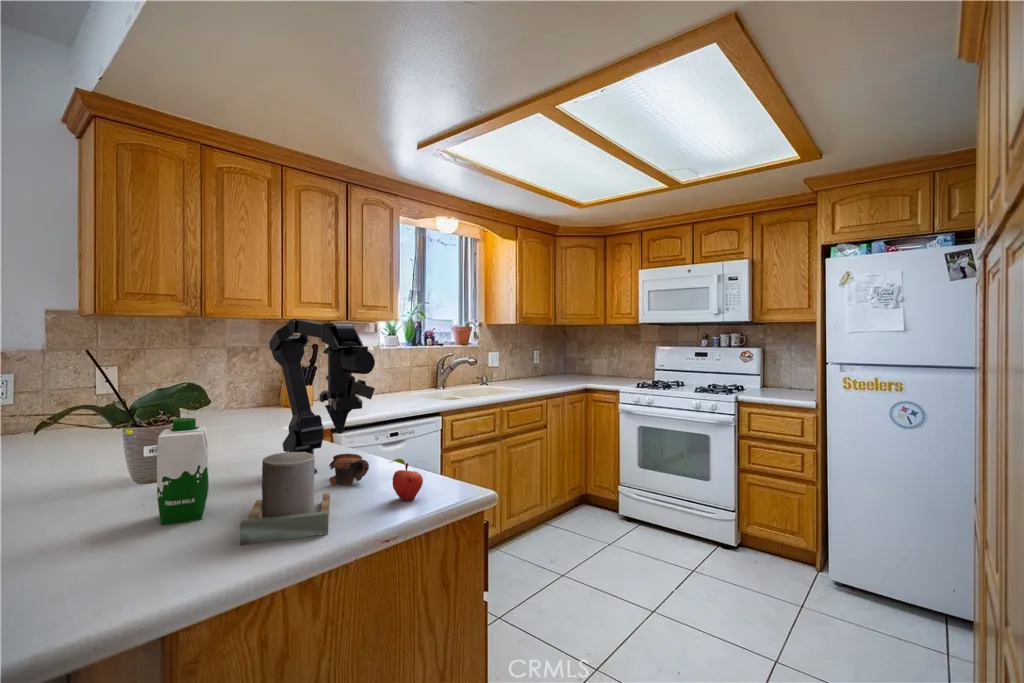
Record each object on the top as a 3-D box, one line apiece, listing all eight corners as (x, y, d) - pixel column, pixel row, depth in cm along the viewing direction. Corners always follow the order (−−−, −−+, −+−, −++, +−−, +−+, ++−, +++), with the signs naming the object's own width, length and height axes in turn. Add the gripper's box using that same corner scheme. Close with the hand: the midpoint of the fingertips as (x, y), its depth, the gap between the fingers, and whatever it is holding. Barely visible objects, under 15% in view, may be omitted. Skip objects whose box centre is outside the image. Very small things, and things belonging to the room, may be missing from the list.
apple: (408, 492, 118) (408, 451, 118) (428, 498, 114) (428, 456, 114) (383, 501, 112) (383, 458, 112) (403, 507, 108) (404, 463, 108)
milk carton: (210, 506, 108) (209, 416, 107) (206, 520, 100) (205, 423, 99) (161, 512, 104) (161, 419, 103) (153, 528, 96) (153, 427, 95)
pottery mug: (318, 487, 123) (322, 455, 127) (343, 494, 131) (346, 463, 135) (357, 480, 119) (360, 447, 123) (380, 487, 127) (382, 456, 131)
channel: (256, 509, 106) (256, 491, 106) (329, 501, 111) (329, 484, 111) (239, 545, 89) (239, 523, 89) (327, 534, 94) (327, 513, 94)
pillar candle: (250, 533, 94) (250, 456, 93) (280, 514, 104) (281, 444, 103) (297, 537, 93) (297, 458, 92) (323, 517, 102) (324, 446, 102)
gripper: (383, 373, 120) (383, 436, 121) (361, 368, 136) (361, 424, 136) (336, 375, 114) (336, 441, 114) (319, 369, 130) (319, 428, 130)
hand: (340, 433), depth 124 cm, fingers closed
